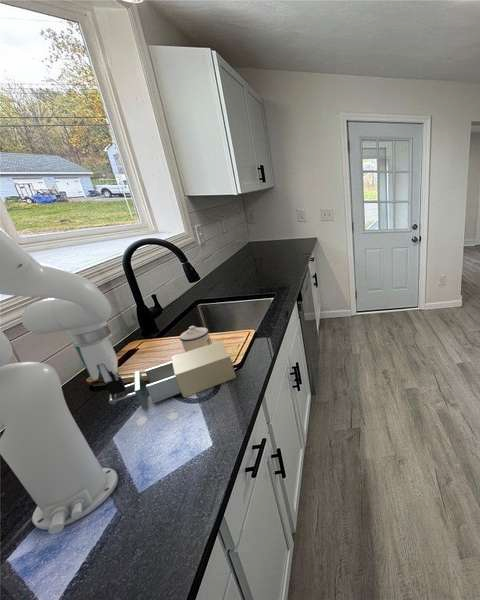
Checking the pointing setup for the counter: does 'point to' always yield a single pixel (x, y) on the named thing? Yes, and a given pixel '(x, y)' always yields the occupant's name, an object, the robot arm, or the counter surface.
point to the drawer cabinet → (202, 368)
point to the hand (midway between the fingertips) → (118, 391)
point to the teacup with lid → (195, 338)
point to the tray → (153, 385)
